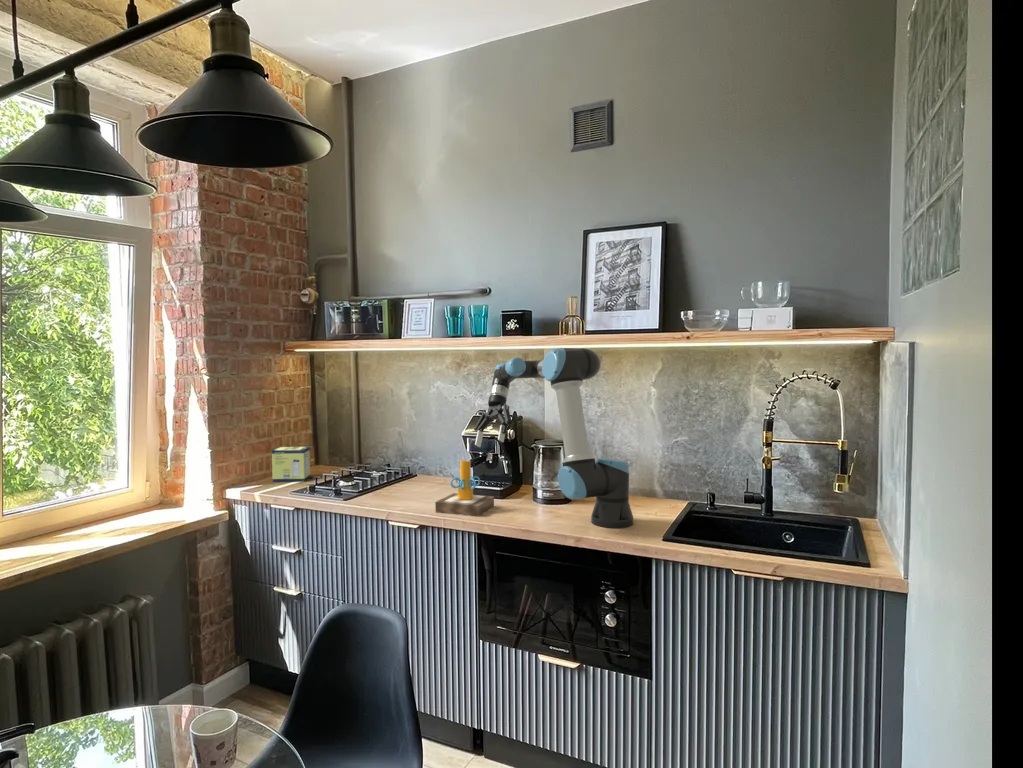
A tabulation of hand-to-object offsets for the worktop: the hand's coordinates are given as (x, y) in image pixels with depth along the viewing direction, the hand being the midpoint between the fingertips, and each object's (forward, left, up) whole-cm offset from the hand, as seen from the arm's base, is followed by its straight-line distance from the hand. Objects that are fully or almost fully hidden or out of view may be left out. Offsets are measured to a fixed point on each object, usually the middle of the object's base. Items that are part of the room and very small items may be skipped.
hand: (489, 443), depth 250 cm
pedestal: (+5, +13, -25) cm, 28 cm away
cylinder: (+5, +13, -20) cm, 25 cm away
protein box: (+108, -10, -25) cm, 111 cm away
